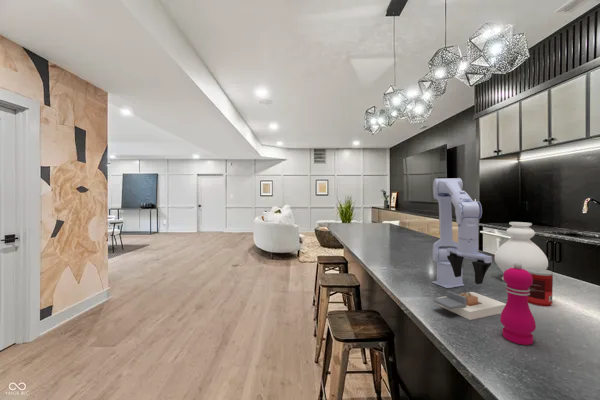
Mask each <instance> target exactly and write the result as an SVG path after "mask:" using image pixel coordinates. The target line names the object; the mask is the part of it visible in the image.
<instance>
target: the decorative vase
mask: <svg viewBox="0 0 600 400" xmlns="http://www.w3.org/2000/svg"><path fill="white" fill-rule="evenodd" d="M508 224H509V225H510V227H508V228H507V229H506V235H508V237H510V238H508V240H506V241H505V242H503V244H501V245H500V246H499V247H498V249H497V250H496V252H494V253H495V254H494V262H495V264H496V266H497V267H498V268H499V269H500V271H501V272H502V273H503V274H504V272H505V271H506V270H507V269H509V268H514V266H513V265H514V263H516V262H519V263H521V264H522V268H521V269H524V268H540V269H545V270H548V267H549V260H548V257H547V255H546V254H545V253H544V251H543V250H542V249H541V248H540V247H539V246H538V245H537V244H536V243H535V242H533V241H532V240H531V239H532V238H533V237H535V234H536V231H535V230H534V229H532V228H531V227H530V226H532V225H533V223H532V222H523V221H510V222H509V223H508ZM501 280H502V281H503V282H505V281H504V278H503V276H502V277H501Z"/></svg>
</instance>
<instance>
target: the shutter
mask: <svg viewBox="0 0 600 400" xmlns="http://www.w3.org/2000/svg"><path fill="white" fill-rule="evenodd" d="M459 294H460V293H456V292H454V291H451V290H446V296H447V297H445V296H442V297H443V298H439V297H437V298H433V300H432V301H433V303H435V304H437V305H438V304H439V305H442V306H444V307H446V308H448V309H450V310H451V309H456V308H461V307H466V306H467V297H464V296H462V295H459ZM439 305H438V306H439Z"/></svg>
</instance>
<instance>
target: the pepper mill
mask: <svg viewBox="0 0 600 400" xmlns="http://www.w3.org/2000/svg"><path fill="white" fill-rule="evenodd" d="M513 266H514V268H509V269H507V270H506V271H505V272H504V273H503V275H502V277H503V278H504V281H503V282H505V284H506V285H505V291H506V293H507V300H506V303H505V304H506V305H505V307H504V309H503V311H502V313H500V319H499V320H500V324H501V325H503V328H502V336H503V338H505V340H506V341H507V340H508V341H509V342H512V343H514V344H518V345H523V346H530V345H532V344H533V343H534V335H533V332H534V331H536V328H537V327H536V326H537V325H536V321H535V320H536V319H535V317H534V315H533V313H532V311H531V309H530V305H529V303H528V295H530V289H529V287H530V286H531V285H532V283H533V278H532V275H531V274H530V273H529V272H528V271H526V270H524V269H521V268H522V264H521V263H519V262H516V263H514V265H513Z"/></svg>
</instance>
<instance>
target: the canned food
mask: <svg viewBox="0 0 600 400" xmlns="http://www.w3.org/2000/svg"><path fill="white" fill-rule="evenodd" d="M524 270H526V271H528V272H529V273H530V274H531V275H532V278H533V283H532V285H531V286H530V287H529V289H530V295H528V304H531V305H536V306H539V307H550V306H552V304H553V290H554V289H553V287H554V286H553V282H554V280H553V271H552V270H548V269H546V270H545V269H540V268H524Z"/></svg>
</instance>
